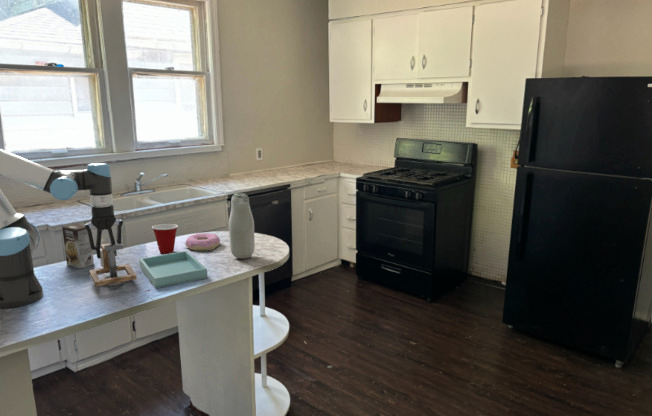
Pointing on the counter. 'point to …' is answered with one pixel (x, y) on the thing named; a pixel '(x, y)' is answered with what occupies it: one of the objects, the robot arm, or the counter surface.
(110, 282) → the ring
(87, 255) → the coffee box
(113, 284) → the grey metal stand
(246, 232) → the glass bottle
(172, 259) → the tray
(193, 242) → the donut
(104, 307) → the counter surface
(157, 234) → the plastic cup
